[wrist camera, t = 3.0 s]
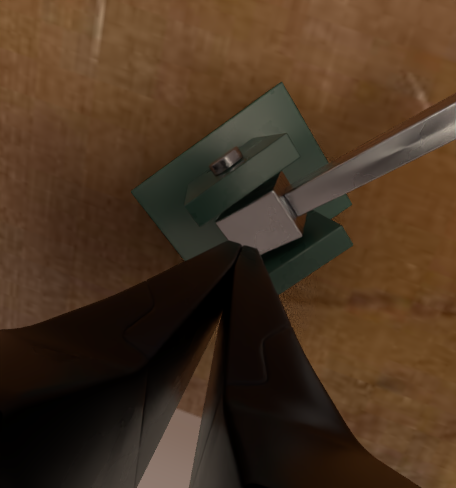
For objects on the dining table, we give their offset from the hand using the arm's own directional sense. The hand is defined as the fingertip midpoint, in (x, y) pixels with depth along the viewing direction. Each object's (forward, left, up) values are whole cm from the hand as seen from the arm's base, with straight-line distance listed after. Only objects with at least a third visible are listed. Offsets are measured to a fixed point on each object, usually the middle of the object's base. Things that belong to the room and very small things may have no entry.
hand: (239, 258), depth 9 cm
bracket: (0, -2, -12) cm, 12 cm away
